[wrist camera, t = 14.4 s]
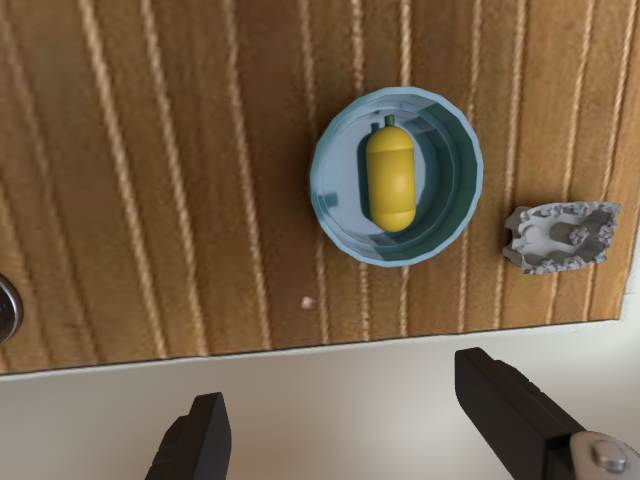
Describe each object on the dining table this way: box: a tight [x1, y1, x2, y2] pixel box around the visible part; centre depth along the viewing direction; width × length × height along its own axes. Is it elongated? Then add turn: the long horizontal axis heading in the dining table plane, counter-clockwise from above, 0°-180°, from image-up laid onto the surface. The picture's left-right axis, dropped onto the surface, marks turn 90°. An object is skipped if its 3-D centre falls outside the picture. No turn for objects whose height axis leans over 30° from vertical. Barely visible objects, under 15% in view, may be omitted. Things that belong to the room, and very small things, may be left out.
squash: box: [366, 115, 416, 232], centre depth 29 cm, size 11×4×4 cm, turn 6°
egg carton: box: [502, 201, 623, 275], centre depth 33 cm, size 11×8×4 cm
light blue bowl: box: [307, 86, 484, 267], centre depth 29 cm, size 15×15×6 cm
